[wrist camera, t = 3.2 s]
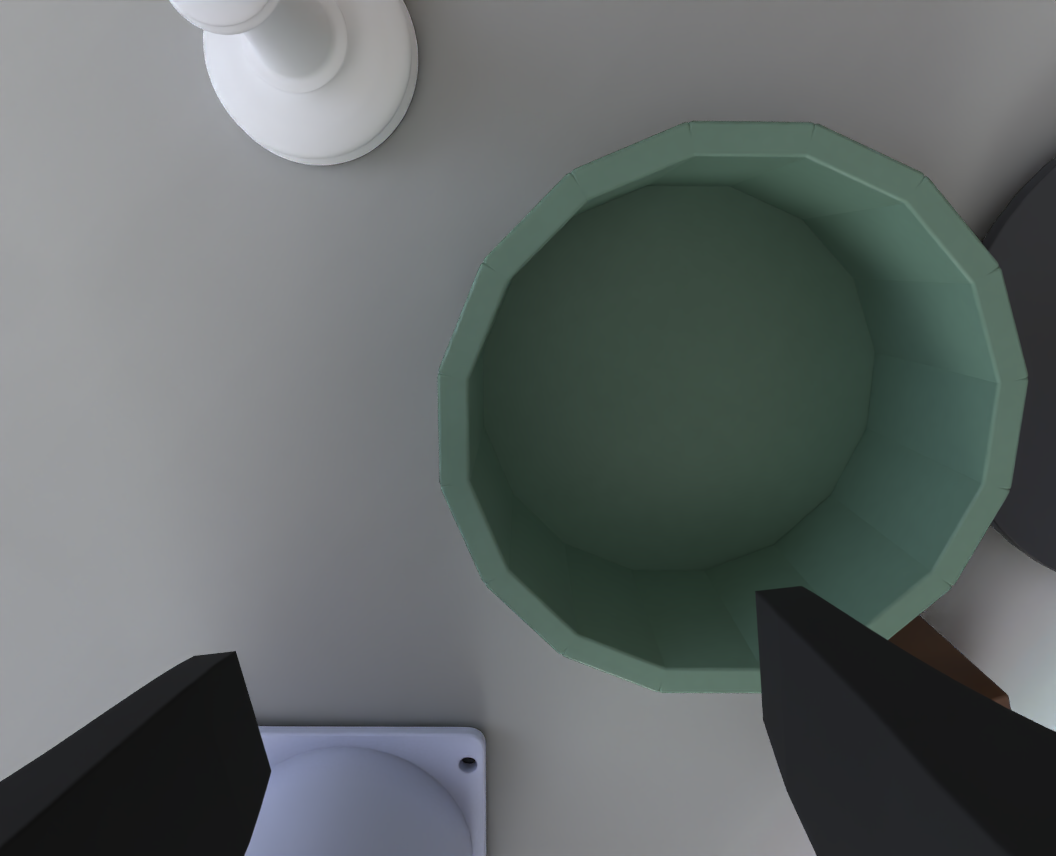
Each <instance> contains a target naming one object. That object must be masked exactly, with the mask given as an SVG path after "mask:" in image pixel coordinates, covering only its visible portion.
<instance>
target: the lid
mask: <svg viewBox="0 0 1056 856" xmlns="http://www.w3.org/2000/svg"><path fill="white" fill-rule="evenodd" d="M982 244H983V245H984V246H985V248H986V249H987V250H988V251H989V252H990V254H991V255H992V256H993V257H994V259H995V260H996V261H997V262H998V264H999V266H998V267H1000V268H1001V270H1002V273H1003V277H1004V281H1005V285H1006V289H1007V293H1008V297H1009V301H1010V305H1011V309H1012V313H1013V317H1014V321H1015V325H1016V329H1017V332H1018V336H1019V340H1020V344H1021V348H1022V352H1023V356H1024V360H1025V364H1026V368H1027V372H1028V377H1026V378H1027V379H1028V386H1027V392H1026V399H1025V405H1024V411H1023V417H1022V423H1021V430H1020V436H1019V442H1018V448H1017V454H1016V461H1015V467H1014V473H1013V479H1012V485H1011V488H1010V489H1009V494H1008V496H1007V497H1006V499H1005V501H1004V502H1003V504H1002V506H1001V507H1000V509H999V511H998V512H997V514H996V516H995V517H994V519H993V521H992V522H991V525H992V526H993V527H994V528H995V529H996V530H997V531H998V532H999V533H1000V534H1001V535H1002V536H1003V537H1004V538H1005V539H1006V540H1007V541H1008V542H1009V543H1011V544H1012V545H1014V546H1015V547H1016V548H1018V549H1019V550H1021V551H1022V552H1023V553H1025V554H1026V555H1028V556H1029V557H1030V558H1032V559H1033V560H1035V561H1037V562H1038V563H1040V564H1042V565H1044V566H1046V567H1048V568H1050V569H1052V570H1054V571H1056V157H1055V158H1054V159H1052V160H1051V161H1050V162H1049V163H1047V164H1046V165H1045V166H1044V167H1043V168H1042V169H1041V170H1040V171H1039V172H1038V173H1037V174H1036V175H1035V176H1034V177H1033V178H1032V179H1031V180H1030V181H1029V182H1028V183H1027V184H1026V185H1025V186H1024V187H1023V188H1022V189H1021V190H1020V191H1019V192H1018V193H1017V195H1016V196H1015V197H1014V198H1013V200H1012V201H1011V202H1010V203H1009V205H1008V206H1007V207H1006V209H1005V210H1004V211H1003V212H1002V214H1001V215H1000V216H999V217H998V219H997V220H996V221H995V222H994V224H993V226H992V227H991V229H990V230H989V232H988V234H987V235H986V237H985V239H984V240H983V242H982Z"/></svg>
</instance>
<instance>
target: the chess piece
mask: <svg viewBox="0 0 1056 856" xmlns="http://www.w3.org/2000/svg"><path fill="white" fill-rule="evenodd" d="M169 1H170V2H171V4H172V5H173V6H174V8H175V9H176V10H177V11H178V12H179V13H180V14H181V15H182V16H183V17H184V18H185V19H186V20H188V21H189V22H190V23H192V24H193V25H195V26H197V27H199V28H201V29H203V47H204V56H205V62H206V66H207V70H208V74H209V77H210V80H211V83H212V85H213V88H214V90H215V92H216V94H217V96H218V98H219V100H220V101H221V103H222V105H223V106H224V108H225V109H226V111H227V112H228V114H229V115H230V116H231V117H232V119H233V120H234V121H235V122H236V123H237V124H238V125H239V126H240V127H241V128H242V129H243V130H244V131H245V132H246V133H247V134H248V135H249V136H250V137H251V138H252V139H253V140H254V141H256V142H257V143H258V144H259V145H261V146H262V147H264V148H265V149H267V150H268V151H270V152H272V153H274V154H276V155H278V156H280V157H282V158H285V159H287V160H290V161H294V162H297V163H302V164H308V165H334V164H340V163H344V162H348V161H351V160H354V159H357V158H359V157H361V156H363V155H365V154H367V153H369V152H370V151H372V150H373V149H375V148H376V147H377V146H379V145H380V144H381V143H382V142H384V141H385V140H386V139H387V138H388V137H389V136H390V135H391V134H392V132H393V131H394V130H395V129H396V127H397V126H398V125H399V123H400V122H401V120H402V118H403V117H404V115H405V113H406V111H407V109H408V107H409V105H410V102H411V99H412V97H413V93H414V90H415V86H416V81H417V74H418V46H417V39H416V34H415V30H414V26H413V23H412V20H411V17H410V14H409V12H408V9H407V7H406V5H405V3H404V1H403V0H169Z"/></svg>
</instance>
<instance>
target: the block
mask: <svg viewBox="0 0 1056 856" xmlns="http://www.w3.org/2000/svg"><path fill="white" fill-rule="evenodd" d="M888 641H890V642H892V643H893V644H895V645H897V646H898V647H900V648H901V649H903V650H905V651H906V652H908V653H910V654H911V655H913V656H915V657H916V658H918V659H920V660H921V661H923V662H925V663H926V664H928V665H930V666H932V667H933V668H935V669H937V670H938V671H940V672H942V673H944V674H945V675H947V676H949V677H951V678H952V679H954V680H956V681H958V682H960V683H961V684H963V685H965V686H967V687H969V688H971V689H973V690H974V691H976V692H978V693H980V694H982V695H984V696H986V697H987V698H989V699H991V700H993V701H995V702H997V703H999V704H1000V705H1002V706H1004V707H1006V708H1008V709H1010V710H1011V707H1010V702H1009V697H1008V695H1007V694H1006V693H1005V692H1004V691H1003V690H1002V689H1001V688H1000V687H998V686H997V685H996V684H995V683H994V682H993V681H992V680H991V679H990V678H988V677H987V676H986V675H985V674H984V673H983V672H982V671H981V670H979V669H978V668H977V667H976V666H975V665H974V664H973V663H972V662H970V661H969V660H968V659H967V658H966V657H965V656H964V655H963V654H962V653H960V652H959V651H958V650H957V649H956V648H955V647H954V646H953V645H951V644H950V643H949V642H948V641H947V640H946V639H945V638H944V637H942V636H941V635H940V634H939V633H938V632H937V631H936V630H935V629H934V628H932V627H931V626H930V625H929V624H928V623H927V622H926V621H925V620H923V619H922V618H921V617H920V616H919V615H918V616H917V617H915V618H914V619H913V620H912V621H911V622H909V623H908V624H907V625H906V626H904V627H903V628H902V629H901V630H899V631H898V632H897V633H896V634H895V635H893V636H892V637H891V638H890V639H888Z"/></svg>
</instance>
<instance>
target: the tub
mask: <svg viewBox="0 0 1056 856" xmlns="http://www.w3.org/2000/svg"><path fill="white" fill-rule="evenodd" d="M998 266H999V264H998V262H997V261H996V260H995V259H994V257H993V256H992V255H991V254H990V252H989V251H988V250H987V249H986V248H985V246H984V245H983V244H982V243H981V241H980V240H979V239H978V238H977V237H976V235H975V234H974V233H973V232H972V230H971V229H970V228H969V227H968V226H967V224H966V223H965V222H964V221H963V219H962V218H961V217H960V216H959V215H958V213H957V212H956V211H955V210H954V208H953V207H952V206H951V205H950V204H949V202H948V201H947V200H946V199H945V197H944V196H943V195H942V194H941V193H940V191H939V190H938V189H937V188H936V186H935V185H934V184H933V183H932V182H931V180H930V179H929V178H928V177H926V176H924V174H923V173H922V172H920V171H917V170H915V169H913V168H911V167H909V166H907V165H905V164H903V163H901V162H898V161H896V160H894V159H892V158H890V157H888V156H886V155H884V154H881V153H879V152H877V151H875V150H873V149H871V148H869V147H867V146H864V145H862V144H860V143H858V142H856V141H854V140H852V139H850V138H848V137H845V136H843V135H841V134H839V133H837V132H835V131H833V130H831V129H828V128H826V127H824V126H822V125H820V124H814V123H812V122H752V121H691V122H689V123H688V122H684V123H682V124H680V125H677V126H675V127H673V128H670V129H668V130H665V131H663V132H661V133H658V134H656V135H654V136H651V137H649V138H647V139H644V140H642V141H640V142H637V143H635V144H632V145H630V146H628V147H625V148H623V149H621V150H618V151H616V152H614V153H611V154H609V155H607V156H604V157H602V158H599V159H597V160H595V161H592V162H590V163H588V164H585V165H583V166H581V167H578V168H576V169H574V170H573V171H572V172H571V173H568V174H567V175H566V176H565V177H564V178H563V179H562V180H561V181H560V182H559V183H558V184H557V185H556V186H555V187H554V188H553V189H552V190H551V191H550V192H549V193H548V194H547V195H546V196H545V197H544V198H543V199H542V200H541V201H540V202H539V203H538V204H537V205H536V206H535V207H534V208H533V209H532V210H531V211H530V212H529V213H528V214H527V215H526V216H525V218H524V219H523V220H522V221H521V222H520V223H519V224H518V225H517V226H516V227H515V228H514V229H513V230H512V231H511V232H510V233H509V234H508V235H507V236H506V237H505V238H504V239H503V240H502V241H501V242H500V243H499V244H498V245H497V246H496V247H495V248H494V249H493V250H492V251H491V252H490V253H489V254H488V255H487V256H486V257H485V259H484V263H482V264H481V265H480V267H479V270H478V272H477V275H476V277H475V280H474V282H473V285H472V287H471V290H470V292H469V295H468V297H467V300H466V302H465V305H464V307H463V310H462V312H461V315H460V317H459V320H458V322H457V325H456V327H455V330H454V332H453V335H452V337H451V340H450V342H449V345H448V347H447V350H446V352H445V355H444V357H443V360H442V362H441V365H440V367H439V374H438V376H437V382H438V432H439V482H440V484H441V490H442V492H443V495H444V497H445V499H446V501H447V504H448V506H449V508H450V510H451V512H452V515H453V517H454V519H455V521H456V523H457V526H458V528H459V530H460V532H461V535H462V537H463V539H464V541H465V543H466V546H467V548H468V550H469V552H470V554H471V557H472V559H473V561H474V563H475V566H476V568H477V570H478V572H479V574H480V577H481V579H482V581H483V582H484V583H485V584H486V586H487V587H488V588H489V589H490V590H491V591H492V592H493V593H494V594H495V595H496V596H497V597H498V598H500V599H501V600H502V601H503V602H504V603H505V604H506V605H507V606H508V607H509V608H510V609H511V610H512V611H514V612H515V613H516V614H517V615H518V616H519V617H520V618H521V619H522V620H523V621H524V622H525V623H527V624H528V625H529V626H530V627H531V628H532V629H533V630H534V631H535V632H536V633H537V634H538V635H539V636H541V637H542V638H543V639H544V640H545V641H546V642H547V643H548V644H549V645H550V646H551V647H552V648H553V649H555V650H556V651H557V652H558V653H559V654H562V655H563V656H564V657H566V658H569V659H571V660H574V661H577V662H579V663H582V664H585V665H587V666H590V667H592V668H595V669H598V670H600V671H603V672H605V673H608V674H611V675H613V676H616V677H618V678H621V679H624V680H626V681H629V682H632V683H634V684H637V685H639V686H642V687H645V688H647V689H650V690H652V691H655V692H658V691H659V692H661V693H762V692H761V676H760V661H759V645H758V629H757V613H756V598H755V591H760V590H769V589H778V588H786V587H795V586H803V587H805V588H806V589H808V590H810V591H812V592H813V593H815V594H816V595H818V596H820V597H821V598H823V599H824V600H826V601H827V602H829V603H831V604H832V605H834V606H835V607H837V608H838V609H840V610H841V611H843V612H845V613H846V614H848V615H849V616H851V617H852V618H854V619H855V620H857V621H859V622H860V623H862V624H863V625H865V626H866V627H868V628H869V629H871V630H873V631H874V632H876V633H877V634H879V635H881V636H882V637H884V638H885V639H887V640H888V639H890V638H891V637H892V636H893V635H895V634H896V633H897V632H898V631H899V630H901V629H902V628H903V627H904V626H906V625H907V624H908V623H909V622H911V621H912V620H913V619H914V618H915V617H917V616H918V615H919V614H920V613H922V612H923V611H924V610H925V609H927V608H928V607H929V606H930V605H931V604H933V603H934V602H935V601H936V600H938V599H939V598H940V597H941V596H942V595H944V594H945V593H946V592H947V591H949V590H950V589H951V585H954V584H955V583H956V581H957V580H958V578H959V576H960V575H961V573H962V571H963V570H964V568H965V566H966V565H967V563H968V561H969V560H970V558H971V556H972V554H973V553H974V551H975V549H976V548H977V546H978V544H979V543H980V541H981V539H982V538H983V536H984V534H985V533H986V531H987V529H988V528H989V526H990V524H991V522H992V521H993V519H994V517H995V516H996V514H997V512H998V511H999V509H1000V507H1001V506H1002V504H1003V502H1004V501H1005V499H1006V497H1007V496H1008V494H1009V489H1010V488H1011V485H1012V479H1013V473H1014V467H1015V461H1016V454H1017V448H1018V442H1019V436H1020V430H1021V423H1022V417H1023V411H1024V405H1025V399H1026V392H1027V386H1028V379H1027V378H1026V377H1028V372H1027V368H1026V364H1025V360H1024V356H1023V352H1022V348H1021V344H1020V340H1019V336H1018V332H1017V329H1016V325H1015V321H1014V317H1013V313H1012V309H1011V305H1010V301H1009V297H1008V293H1007V289H1006V285H1005V281H1004V277H1003V273H1002V270H1001V268H1000V267H998Z"/></svg>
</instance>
